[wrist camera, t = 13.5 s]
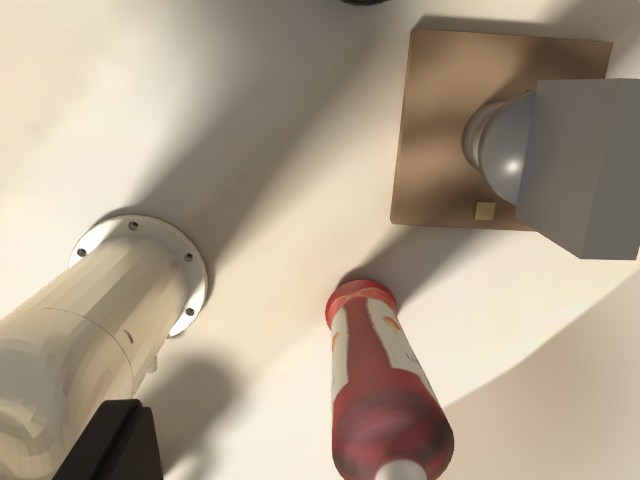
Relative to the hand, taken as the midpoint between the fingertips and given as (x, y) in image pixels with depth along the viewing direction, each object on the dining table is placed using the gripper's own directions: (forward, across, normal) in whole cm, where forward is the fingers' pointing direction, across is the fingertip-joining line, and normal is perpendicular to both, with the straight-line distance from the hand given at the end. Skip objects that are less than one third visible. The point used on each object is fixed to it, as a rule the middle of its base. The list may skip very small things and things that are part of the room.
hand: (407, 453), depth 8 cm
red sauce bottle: (+34, -3, +14) cm, 37 cm away
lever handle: (+26, -14, -2) cm, 30 cm away
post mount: (+34, -14, -2) cm, 37 cm away
